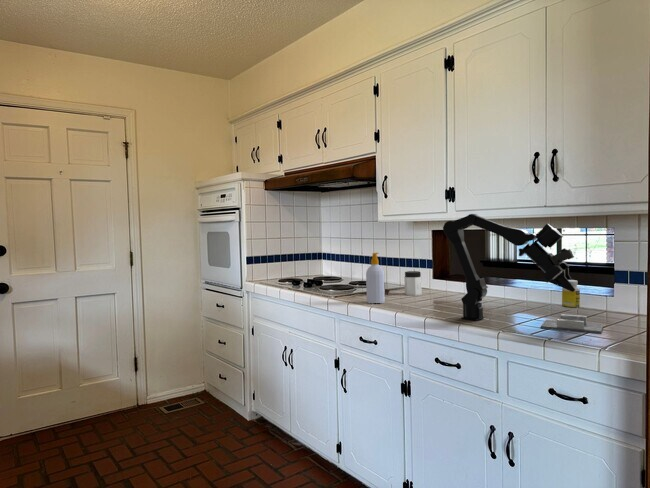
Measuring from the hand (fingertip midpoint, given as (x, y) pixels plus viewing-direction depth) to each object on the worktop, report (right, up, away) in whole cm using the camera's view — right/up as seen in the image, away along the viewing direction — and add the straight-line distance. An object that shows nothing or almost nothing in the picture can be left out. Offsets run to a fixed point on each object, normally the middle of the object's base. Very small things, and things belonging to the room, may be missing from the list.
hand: (575, 289), depth 160 cm
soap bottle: (-61, -13, +64) cm, 90 cm away
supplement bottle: (-1, -7, +1) cm, 7 cm away
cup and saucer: (-57, -12, +92) cm, 109 cm away
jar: (-39, -11, +86) cm, 95 cm away
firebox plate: (0, -13, +2) cm, 13 cm away
